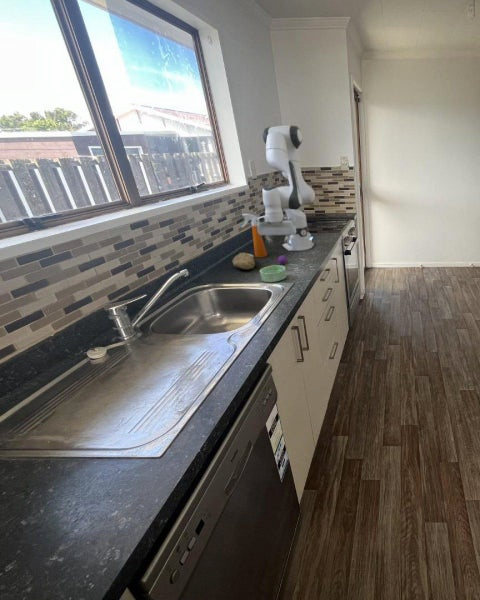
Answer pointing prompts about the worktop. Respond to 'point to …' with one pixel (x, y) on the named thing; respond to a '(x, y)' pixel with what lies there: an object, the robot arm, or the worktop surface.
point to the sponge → (244, 261)
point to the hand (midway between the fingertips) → (279, 242)
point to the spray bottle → (256, 236)
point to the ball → (282, 259)
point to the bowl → (273, 273)
